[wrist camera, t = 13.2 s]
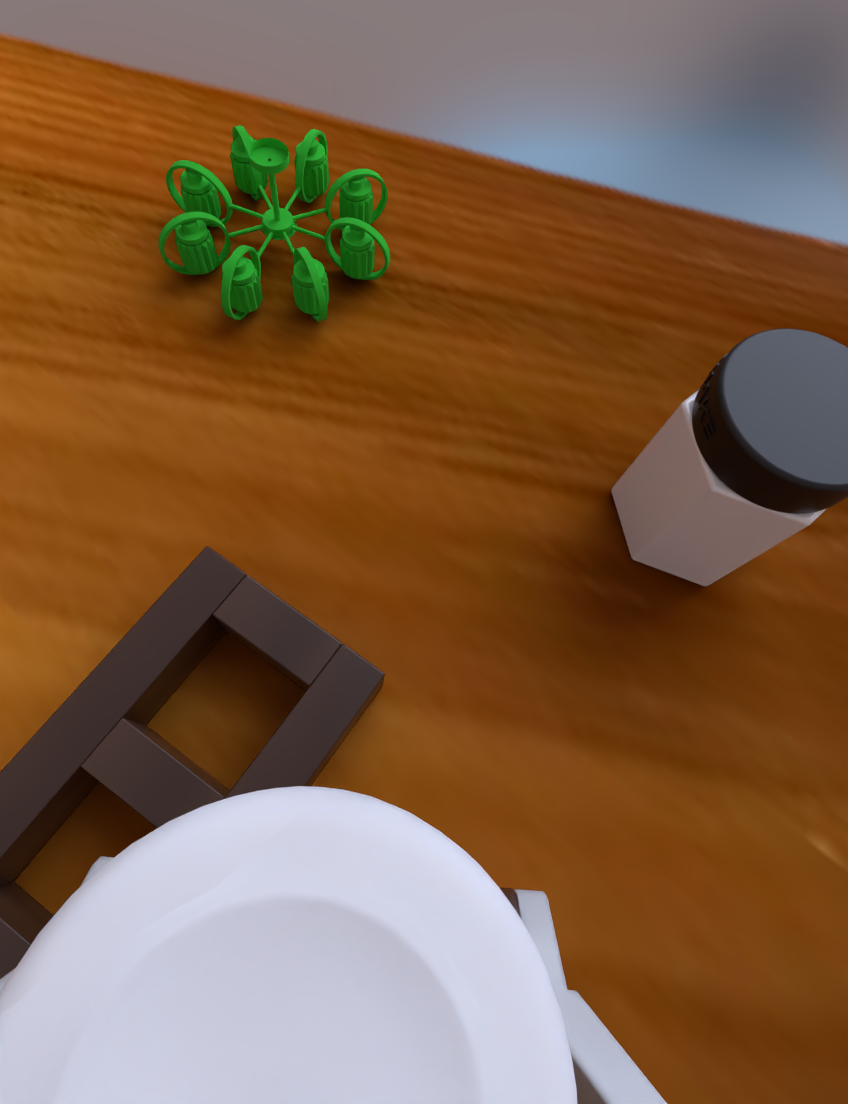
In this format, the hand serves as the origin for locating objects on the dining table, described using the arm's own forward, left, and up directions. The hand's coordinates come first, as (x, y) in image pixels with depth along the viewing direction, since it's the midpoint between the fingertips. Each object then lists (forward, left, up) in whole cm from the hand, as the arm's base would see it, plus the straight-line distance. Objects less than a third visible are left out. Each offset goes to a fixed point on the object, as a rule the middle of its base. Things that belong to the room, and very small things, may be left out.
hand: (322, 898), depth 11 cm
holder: (+3, -8, -22) cm, 23 cm away
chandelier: (-26, -25, -22) cm, 42 cm away
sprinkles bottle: (+1, 0, -7) cm, 7 cm away
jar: (-25, +6, -22) cm, 34 cm away
